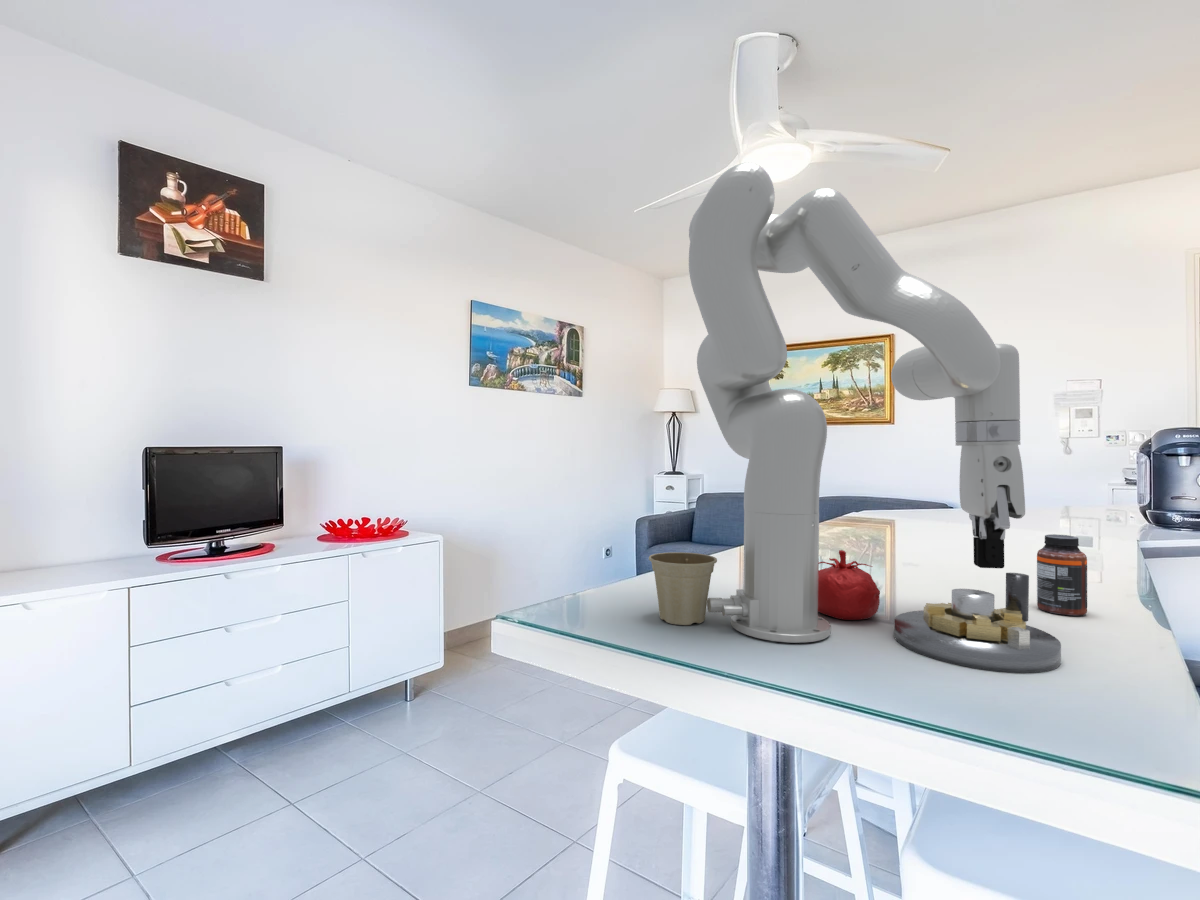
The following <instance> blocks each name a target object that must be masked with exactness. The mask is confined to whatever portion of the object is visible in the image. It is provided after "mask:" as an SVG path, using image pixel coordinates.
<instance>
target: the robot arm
mask: <svg viewBox="0 0 1200 900" xmlns="http://www.w3.org/2000/svg"><path fill="white" fill-rule="evenodd" d="M775 198H776V197H775V188H774V184H773V181H772V179H771V177H770V175H769V174H768V172H767V171H766V169H764V167H762V166H760V165H758V164H756V163H753V162H743V163H739V164H736V165H733V166H732V167H730V168H728V169H727V170H726V171H724V172H723V173H722V174H721V175H719V177H718V178H717V179H716V180H715V182H714V183H713V184H712V186H711V187H710V189H709V190H708V192H707V193H706V195H705V197H704V198H703V200H702V202H701V203H700V205H699V206H698V208H697V209H696V210H695V213H694V214H693V215H692V218H691V220H690V223H689V228H688V238H689V249H688V272H689V279H690V284H691V287H692V291H693V295H694V298H695V300H696V303H697V306H698V309H699V312H700V315H701V318H702V321H703V323H704V325H705V329H706V331H707V335H706V336H705V338H703V340H702V341H701V344H700V345H699V346H698V347H699V348H698V350H697V354H696V355H697V356H696V366H697V367H696V368H697V373H698V378H699V381H700V383H701V386H702V388H703V390H704V394H705V395H706V398H707V401H708V403H709V406H710V407H711V410H712V413H713V415H714V417H715V421H716V422H717V425H718V427H719V429H720V432H721V434H722V436H723V438H724V440H725V441H726V443H727V445H728V447H729V448H731V450H732V451H733V452H734V453H735V454H737V455H738V456H740V457H742V458H744V459H747V460H748V463H747V469H746V474H745V480H744V487H743V488H744V489H743V576H742V577H743V587H742V589H740V588H739V589H735V591H736V592H735V593H736V595H733V594H732V595H730V596H729V598H728V597H727V598H722V597H708V599H707V606H706V609H707V612H708V613H710V614H711V613H712V614H713V613H722V616H725V617H727V616H729V617H730V624H731V626H732V628H733V629H734V630H735V631H737V632H740V633H741V634H744V635H747V636H748V637H753V638H755V639H760V640H764V641H771V642H778V643H792V644H793V643H795V644H798V643H799V644H803V643H814V642H819V641H820V642H821V641H822V640H825V639H826V638H829V636H830V635H831V633H832V632H831V629H832V628H831V624H830V623H831V622H829V621H828V620H827V619H825V618H823V617H822V616H819V612H818V573H819V570H820V569H819V568H820V567H819V565H820V564H819V562H820V559H819V558H820V557H819V556H820V555H819V553H820V551H819V549H820V548H819V547H820V485H821V484H820V482H821V474H822V473H821V472H822V466H823V460H824V456H825V455H824V453H825V450H826V444H827V438H828V424H827V423H828V422H827V418H826V415H825V413H824V409H823V407H822V406H821V405H820V403H819V402H818V401H817V399H815V398H814V397H812V396H811V395H809V394H808V393H806V392H804V391H802V390H798V389H793V388H780V389H775V390H772V389H771V385H770V383H769V381H771V380H772V379H774V378H775V377H777V376H778V375H779V374H780V372H782V371H783V369H784V367H785V365H786V362H787V358H788V349H787V343H786V341H785V338H784V336H783V333H782V330H781V328H780V326H779V322H778V321H777V318H776V315H775V313H774V311H773V309H772V305H771V304H770V301H769V298H768V296H767V294H766V291H765V288H764V286H763V283H762V279H761V277H760V274H759V271H760V272H761V271H762V272H766V273H767V272H768V273H774V274H775V273H776V274H777V273H778V274H793V273H794V274H795V273H798V272H802V271H804V270H806V269H808V268H809V270H811V272H812V273H813V274H814V276H816V278H817V279H818V280H819V281H820V282H821V284H822V285H823V287H824V288H825V289H826V290H827V291H828V293H829V294H830V295H831V297H832V298H833V299H834V301H835V302H836V303H837V304H838V305H839V307H840V309H842V310H843V312H845V313H846V314H848V315H850V316H854V317H858V318H862V319H865V320H869V321H875V322H879V323H884V324H888V325H891V326H893V327H896V328H898V329H900V330H903V331H904V332H906V333H907V334H909V335H911V336H912V337H913V338H915V339H916V341H918V342H920V343H921V345H922V346H921V347H918V348H914V349H911V350H909V351H907V352H906V353H904V354H902V355H901V356H900V357H899V358H898V359H897V360H896V361H895V363H894V364H893V366H892V369H891V372H890V374H891V375H890V378H891V382H892V385H893V387H894V389H895V390H896V391H897V392H898V393H899V394H900V395H901V396H903V397H905V398H908V399H911V400H913V401H914V400H915V401H934V400H941V399H945V398H954V419H955V420H954V422H955V425H954V426H955V428H954V429H955V432H954V433H955V438H954V439H955V446H959V447H961V448H960V460H959V503H960V508H961V509H962V510H963V511H964V512H966V513H967V514H968V515H969V516H968V517H969V520H970V521H971V524H972V525H971V527H972V528H971V529H972V536H973V537H972V539H973V540H972V541H973V564H974V565H975V566H977V567H979V568H981V569H1004V568H1005V539H1006V530H1008V529H1009V530H1010V528H1011V522H1010V521H1011V520H1010V518H1013V519H1016V520H1017V519H1022V518H1023V517H1024V516H1025V515H1026V499H1025V498H1026V497H1025V483H1024V472H1023V463H1022V462H1023V461H1022V456H1021V452H1020V448H1019V446H1021V393H1020V390H1021V389H1020V388H1021V387H1020V385H1021V384H1020V383H1021V382H1020V381H1021V380H1020V377H1021V376H1020V354H1019V351H1018V349H1017V348H1016V347H1015V346H1014V345H1012V344H1008V343H995V341H994V340H993V339H992V337H991V335H990V334H989V332H988V331H987V330H986V329H985V327H984V326H983V324H982V323H981V322H980V321H979V319H978V318H977V317H976V316H975V314H974V313H973V312H972V311H971V310H970V309H969V307H967V306H966V305H965V304H964V303H963V302H962V301H961V300H959V299H958V298H957V297H955V296H954V295H952V294H950V293H949V292H947V291H946V290H943V289H942V288H940V287H938V286H937V285H936V286H935V285H934V284H932V282H931V283H930V282H928V281H927V280H924V279H923V278H921V277H917V276H916V275H914V274H911V273H909V272H907V271H905V270H904V269H903V268H901V266H900V265H898V263H897V262H896V260H895V259H894V258H893V257H892V255H891V254H890V253H889V251H888V250H887V249H886V248H885V246H884V245H883V244H882V242H881V241H880V240H879V238H878V237H877V236H876V235H875V233H874V232H873V231H872V229H870V226H868V224H867V223H866V222H865V221H864V219H863V218H862V217H861V215H860V214H859V213H858V211H857V210H856V209H855V207H854V206H853V205H852V204H851V202H849V200H848V199H847V198H846V197H845V196H844V195H843V194H842V193H841V192H839V191H838V190H836V189H834V188H830V187H821V188H817V189H814V190H811V191H809V192H807V193H806V194H804V195H803V196H801V197H800V198H799V199H797V200H796V201H795V202H793V204H791V205H790V206H789V207H788V208H786V210H785V211H783V212H782V213H781V214H780V213H779V214H778V213H775V214H774V213H773V210H774V207H775Z"/></svg>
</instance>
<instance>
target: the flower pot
mask: <svg viewBox="0 0 1200 900" xmlns="http://www.w3.org/2000/svg"><path fill="white" fill-rule="evenodd" d="M648 560H649V561H650V562H651V566H652V567H651V568H652V571H653V572H654V581H655V587H656V588H655V589H656V595H657V596H656V597H657V602H658V610H659V611H658V613H659V618H660V620H661V621H665V622H666V623H667V624H671V625H676V626H677V625H680V626H691V625H692V624H695V623H696V624H697V625H699V624H702V623H704V621H705V620H706V613H707V612H706V611H707V600H708V598H709V593H710V592H709V591H710V584H711V577H712V573H713V572H714V568H715V564H716V563H717V562H718V559H717V558H716V557H715V556H714V555H713V556H712V555H710V554H704V553H700V552H699V553H696V552H695V553H694V552H685V551H684V552H683V551H681V552H680V551H679V552H678V551H676V552H675V551H673V552H658V553H654V554H651V555H649V557H648Z"/></svg>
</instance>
